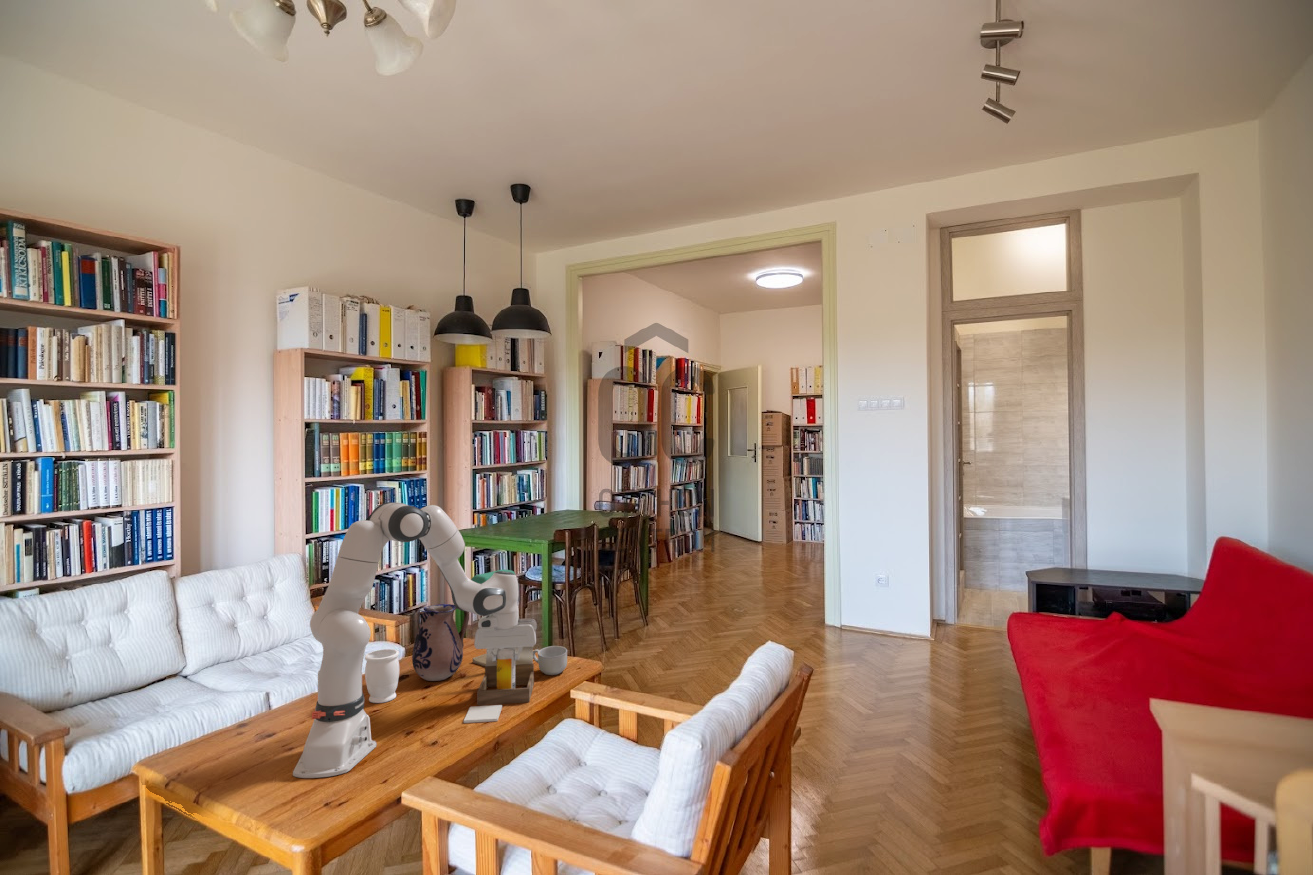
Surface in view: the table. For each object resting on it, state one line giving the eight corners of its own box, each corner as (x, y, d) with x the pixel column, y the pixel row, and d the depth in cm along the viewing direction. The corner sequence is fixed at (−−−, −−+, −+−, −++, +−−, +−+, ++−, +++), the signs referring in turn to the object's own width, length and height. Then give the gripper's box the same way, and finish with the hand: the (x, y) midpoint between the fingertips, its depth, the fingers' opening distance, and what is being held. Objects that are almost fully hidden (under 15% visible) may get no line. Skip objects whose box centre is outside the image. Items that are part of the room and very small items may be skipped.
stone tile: (497, 721, 192) (497, 718, 192) (463, 723, 191) (463, 720, 191) (502, 707, 201) (502, 704, 201) (470, 709, 200) (470, 706, 200)
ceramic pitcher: (402, 679, 227) (401, 610, 227) (451, 662, 244) (450, 597, 245) (432, 689, 217) (431, 617, 217) (481, 671, 234) (480, 603, 235)
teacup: (573, 670, 233) (573, 648, 234) (553, 679, 224) (553, 657, 224) (545, 663, 241) (545, 642, 241) (525, 672, 232) (525, 651, 232)
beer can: (500, 691, 214) (501, 646, 217) (517, 691, 214) (517, 645, 216) (493, 696, 208) (494, 649, 211) (511, 696, 208) (511, 648, 210)
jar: (405, 692, 215) (404, 648, 215) (389, 705, 205) (389, 659, 205) (376, 692, 216) (375, 648, 216) (358, 704, 206) (358, 658, 206)
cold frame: (529, 702, 205) (528, 639, 205) (477, 705, 204) (476, 642, 204) (535, 678, 226) (534, 621, 226) (487, 681, 224) (487, 624, 224)
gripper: (537, 615, 217) (537, 655, 217) (476, 617, 215) (477, 658, 214) (535, 620, 210) (536, 662, 210) (473, 623, 208) (473, 665, 208)
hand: (505, 660), depth 212 cm, fingers closed on beer can, 6 cm apart
